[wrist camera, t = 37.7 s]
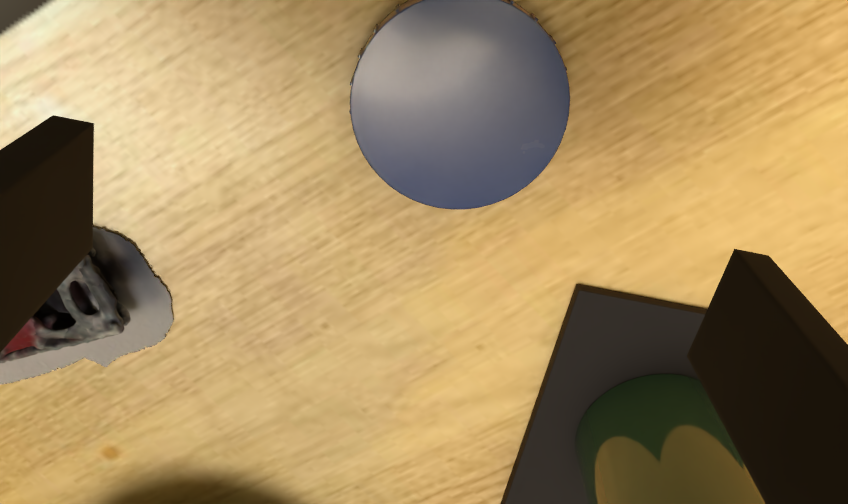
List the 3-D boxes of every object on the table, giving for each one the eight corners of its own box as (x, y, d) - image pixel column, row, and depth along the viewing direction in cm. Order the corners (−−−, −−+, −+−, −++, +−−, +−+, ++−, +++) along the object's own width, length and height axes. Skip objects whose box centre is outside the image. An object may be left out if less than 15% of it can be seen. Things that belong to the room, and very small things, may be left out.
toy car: (-134, 293, 33) (-186, 331, 30) (73, 167, 31) (38, 196, 28) (0, 425, 36) (-36, 470, 34) (198, 322, 34) (178, 361, 31)
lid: (329, 159, 30) (323, 174, 29) (388, -47, 27) (386, -43, 25) (517, 218, 32) (521, 236, 30) (598, 27, 28) (608, 36, 26)
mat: (576, 283, 33) (579, 290, 32) (831, 333, 34) (838, 340, 33) (496, 515, 39) (497, 524, 38) (715, 551, 40) (719, 560, 39)
